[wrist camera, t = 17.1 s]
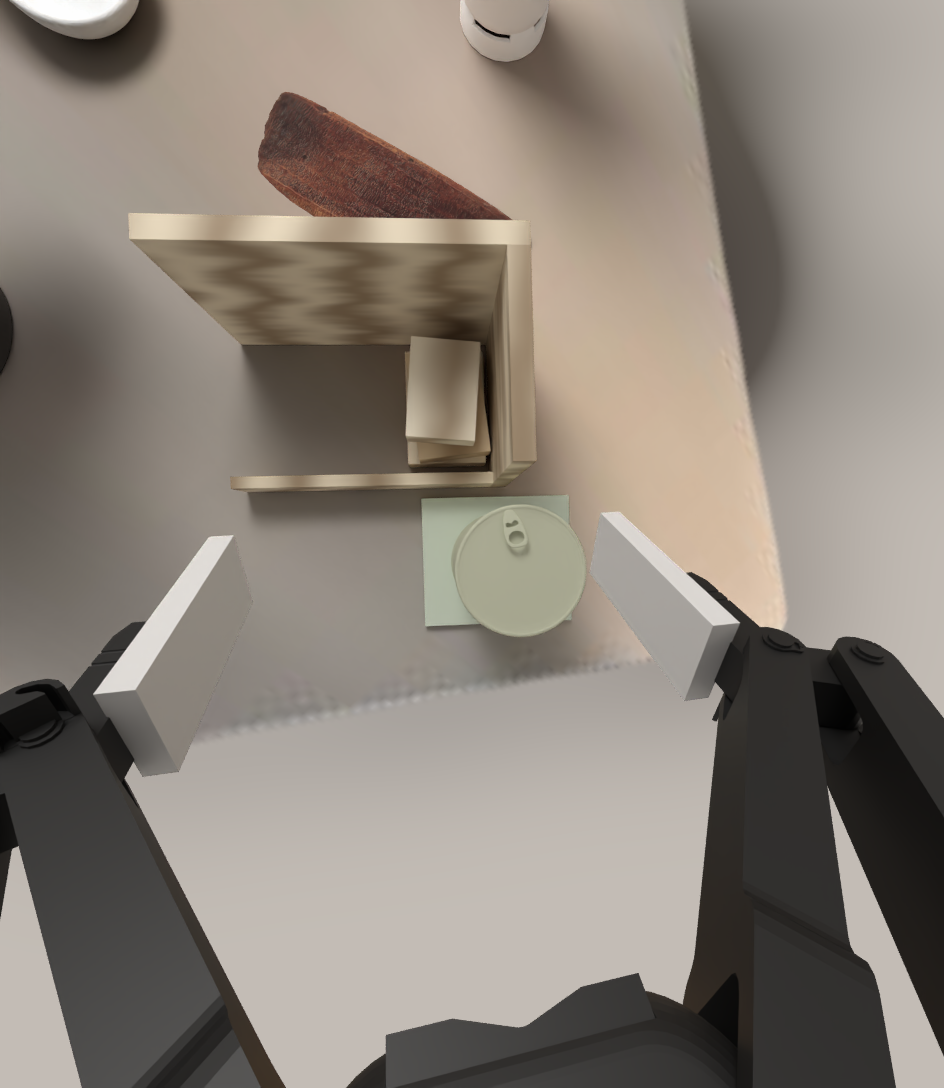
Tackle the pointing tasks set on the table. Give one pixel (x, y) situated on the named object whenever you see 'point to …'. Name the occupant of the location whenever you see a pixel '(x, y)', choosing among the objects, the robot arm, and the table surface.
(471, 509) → the mat
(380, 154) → the wooden tablet
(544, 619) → the can
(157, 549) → the table surface
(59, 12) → the spoon rest
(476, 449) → the offcut stack
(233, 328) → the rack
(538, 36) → the bottle
